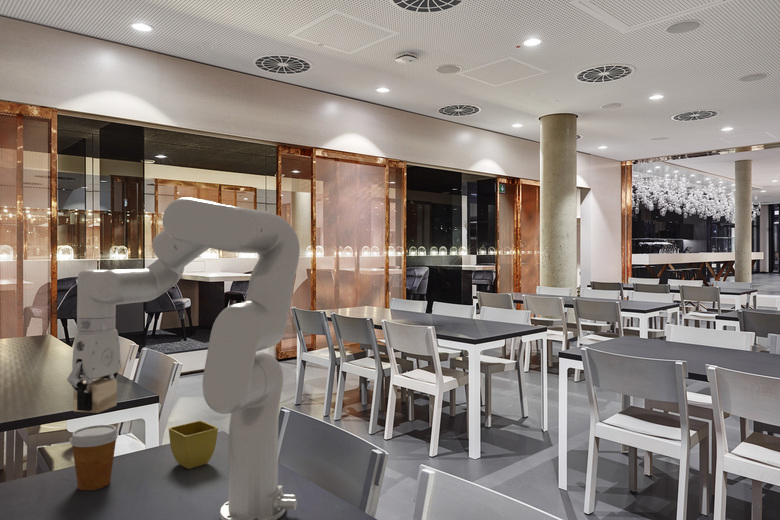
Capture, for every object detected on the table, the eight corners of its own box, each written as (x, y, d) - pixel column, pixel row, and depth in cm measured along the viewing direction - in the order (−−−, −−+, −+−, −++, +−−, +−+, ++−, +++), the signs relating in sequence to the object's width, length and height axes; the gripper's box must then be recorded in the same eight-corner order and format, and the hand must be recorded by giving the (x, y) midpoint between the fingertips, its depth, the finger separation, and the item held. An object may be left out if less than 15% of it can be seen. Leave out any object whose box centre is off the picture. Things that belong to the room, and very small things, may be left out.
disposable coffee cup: (59, 488, 117) (60, 433, 117) (101, 473, 125) (101, 421, 125) (86, 497, 112) (87, 440, 112) (127, 481, 121) (128, 428, 121)
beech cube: (116, 405, 121) (116, 379, 121) (97, 412, 115) (98, 385, 115) (93, 403, 122) (93, 377, 122) (73, 411, 116) (73, 383, 116)
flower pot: (218, 464, 131) (219, 427, 131) (185, 474, 125) (185, 436, 125) (200, 455, 137) (200, 420, 137) (167, 464, 131) (167, 428, 131)
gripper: (83, 330, 110) (82, 418, 110) (136, 321, 127) (135, 397, 127) (50, 329, 111) (49, 416, 111) (108, 320, 128) (107, 395, 128)
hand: (95, 405), depth 119 cm, fingers closed on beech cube, 6 cm apart
